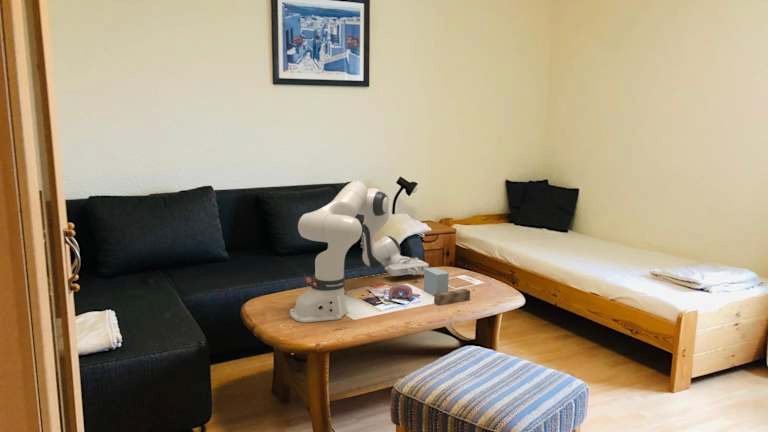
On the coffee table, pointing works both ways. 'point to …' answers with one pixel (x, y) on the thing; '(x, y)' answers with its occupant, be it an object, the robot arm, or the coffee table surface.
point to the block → (435, 281)
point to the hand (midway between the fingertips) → (416, 272)
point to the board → (451, 297)
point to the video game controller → (400, 288)
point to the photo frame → (468, 279)
